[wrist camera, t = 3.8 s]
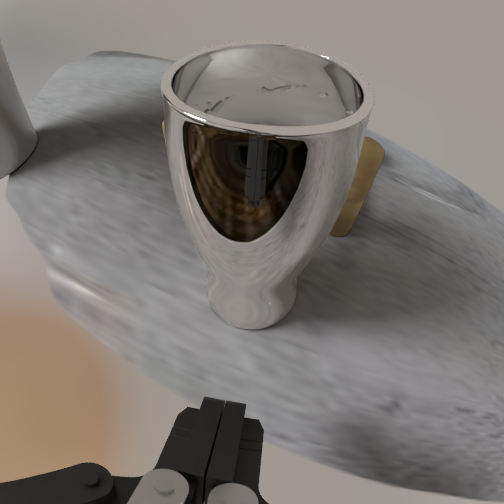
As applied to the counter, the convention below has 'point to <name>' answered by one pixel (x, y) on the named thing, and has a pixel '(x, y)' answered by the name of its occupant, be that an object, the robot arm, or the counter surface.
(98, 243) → the counter surface
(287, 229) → the silver metal cup
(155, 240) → the counter surface
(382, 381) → the counter surface
